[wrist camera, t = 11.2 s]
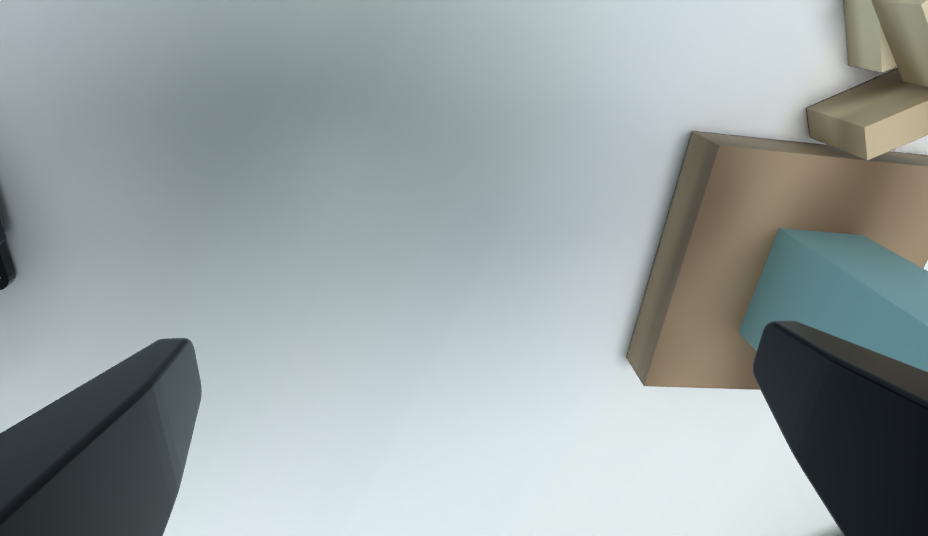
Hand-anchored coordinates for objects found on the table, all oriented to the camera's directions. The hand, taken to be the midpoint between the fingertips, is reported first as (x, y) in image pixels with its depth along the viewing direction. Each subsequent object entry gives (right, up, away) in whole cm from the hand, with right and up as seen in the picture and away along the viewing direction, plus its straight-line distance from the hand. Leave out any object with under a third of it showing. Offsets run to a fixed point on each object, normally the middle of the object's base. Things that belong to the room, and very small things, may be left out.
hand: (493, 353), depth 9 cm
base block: (+12, +2, +15) cm, 20 cm away
